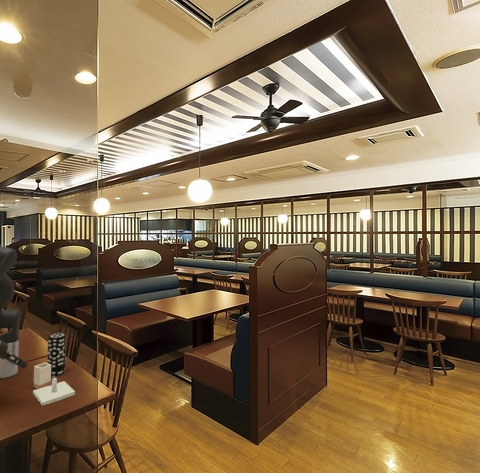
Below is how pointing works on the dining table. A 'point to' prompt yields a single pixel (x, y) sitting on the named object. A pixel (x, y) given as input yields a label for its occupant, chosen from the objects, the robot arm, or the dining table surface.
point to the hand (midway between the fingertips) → (20, 364)
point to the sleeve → (42, 375)
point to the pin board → (53, 392)
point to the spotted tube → (57, 353)
